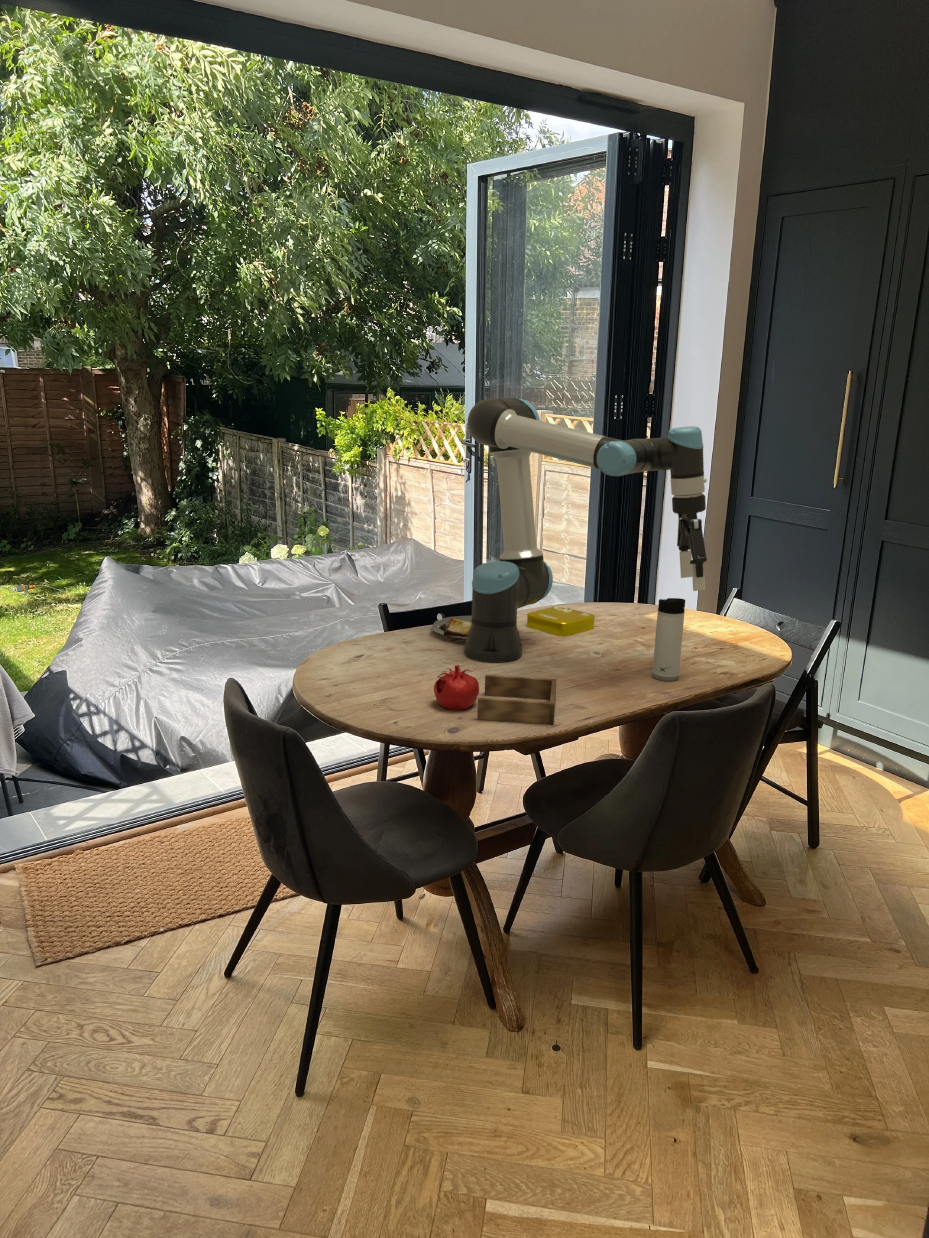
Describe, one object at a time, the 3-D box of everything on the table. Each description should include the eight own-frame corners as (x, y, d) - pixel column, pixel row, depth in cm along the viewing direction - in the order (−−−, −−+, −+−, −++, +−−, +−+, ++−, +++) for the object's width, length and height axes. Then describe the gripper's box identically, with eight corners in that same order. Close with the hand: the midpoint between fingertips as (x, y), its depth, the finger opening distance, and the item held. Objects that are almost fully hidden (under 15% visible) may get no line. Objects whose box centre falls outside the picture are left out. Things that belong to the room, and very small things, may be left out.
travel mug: (664, 683, 211) (671, 601, 206) (646, 675, 216) (653, 595, 211) (684, 679, 214) (692, 599, 208) (666, 671, 219) (673, 593, 214)
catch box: (477, 719, 186) (477, 699, 185) (484, 693, 201) (485, 674, 200) (553, 724, 184) (554, 704, 183) (555, 698, 199) (556, 679, 198)
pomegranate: (482, 700, 198) (484, 660, 195) (472, 715, 188) (475, 673, 186) (439, 694, 200) (441, 655, 197) (427, 709, 190) (429, 668, 188)
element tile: (523, 627, 257) (524, 611, 256) (557, 618, 267) (558, 603, 266) (563, 638, 247) (564, 622, 246) (596, 629, 257) (597, 613, 256)
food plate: (509, 648, 235) (509, 635, 234) (423, 643, 239) (423, 630, 238) (520, 626, 259) (520, 614, 258) (442, 621, 263) (442, 610, 262)
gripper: (718, 500, 193) (721, 594, 199) (692, 486, 217) (696, 570, 223) (683, 504, 194) (688, 597, 199) (662, 489, 218) (666, 573, 223)
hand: (692, 583), depth 211 cm, fingers open, 13 cm apart
